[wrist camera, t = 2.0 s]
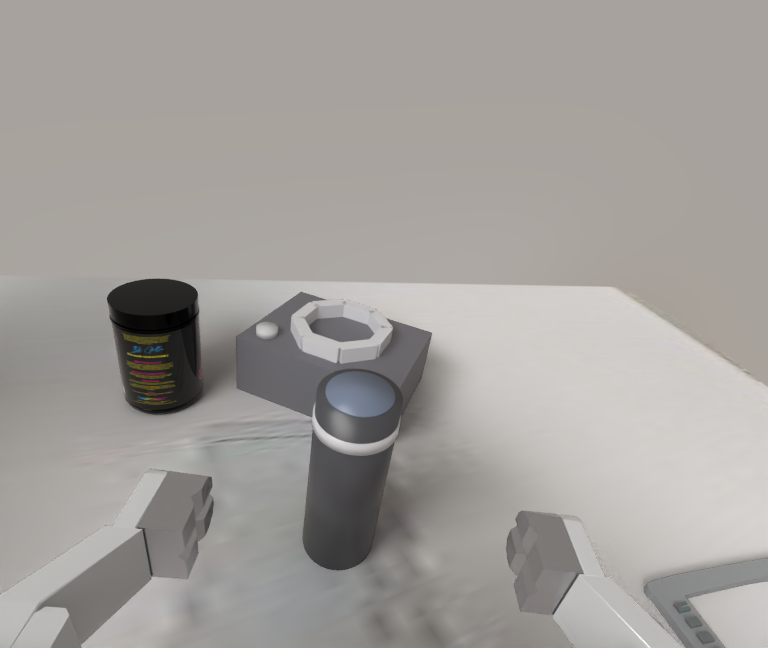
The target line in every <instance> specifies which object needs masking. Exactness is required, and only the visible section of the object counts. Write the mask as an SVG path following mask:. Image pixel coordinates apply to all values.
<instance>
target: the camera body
mask: <svg viewBox="0 0 768 648" xmlns="http://www.w3.org/2000/svg"><path fill="white" fill-rule="evenodd" d="M431 336H432V333H431V332H428V331H424V330H421V329H418V328H415V327H412V326H409V325H405V324H402V323H399V322H396V321H393V320H389V319H386V318H385V317H384V316H383V315H382V313H381V312H380V311H379V310H376V309H375V308H372V307H369V306H366V305H363V304H359V303H356V302H353V301H350V300H346V301H344V300H343V299H338V300H325V299H322V298H319V297H316V296H313V295H310V294H306V293H303V292H300V293H299V294H297V295H296V296H295V297H293V298H292V299H290V300H289V301H287V302H286V303H284V304H283V305H282V306H280V307H279V308H277V309H276V310H274V311H273V312H272V313H270V314H269V315H267V316H266V317H264V318H263V319H261V320H260V321H259V322H257V323H256V324H254V325H253V326H251V327H250V328H249V329H247V330H246V331H244V332H243V333H241V334H240V335H238V336H237V337H236V360H237V388H238V389H241V390H243V391H246V392H248V393H251V394H254V395H256V396H259V397H261V398H264V399H266V400H269V401H272V402H274V403H277V404H279V405H282V406H285V407H287V408H290V409H292V410H295V411H297V412H300V413H303V414H305V415H308V416H310V417H312V416H313V408H314V404H315V402H316V392H317V387H318V385H319V383H320V382H321V380H322V379H323V378H324V377H326V376H327V375H329V374H331V373H333V372H335V371H339V370H343V369H365V370H370V371H374V372H377V373H379V374H382V375H384V376H386V377H387V378H389V379H390V380H392V381H393V382H394V383H395V384H396V385H397V386H398V387H399V389H400V391H401V393H402V395H403V405H402V410H401V416H402V414H403V412H404V410H405V408H406V406H407V404H408V402H409V400H410V398H411V397H412V395H413V393H414V391H415V389H416V387H417V385H418V383H419V381H420V380H421V378H422V373H423V369H424V365H425V361H426V357H427V352H428V348H429V344H430V340H431Z"/></svg>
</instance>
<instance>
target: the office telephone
mask: <svg viewBox="0 0 768 648" xmlns="http://www.w3.org/2000/svg"><path fill="white" fill-rule="evenodd" d="M759 582H768V558H764V559H758V560H752V561H747V562H741V563H735V564H729V565H724V566H719V567H713V568H708V569H703V570H697V571H692V572H687V573H682V574H676V575H672V576H668V577H665V578H661V579H657V580H654V581H651V582H649V583H647V585H646V586H645V587H644V593H645V595H646V596H647V597H648V598H649V599H650V600H651V601H652V602H653V604H654V605H655V606H656V607H657V609H658V610H659V611H660V613H661V614H662V615H663V617H664V618H665V619H666V621H667V622H668V624H669V625H670V626H671V628H672V629H673V631H674V632H675V633H676V635H677V636H678V637H679V639H680V640H681V642H682V643H683V644H684V646H685V647H686V648H725V647H724V645H723V644H722V643H721V641H720V640H719V639H718V638H717V636H716V635H715V634H714V633H713V631H712V630H711V629H710V627H709V626H708V625H707V623H706V622H705V621H704V620H703V618H702V617H701V616H700V614H699V613H698V612H697V611H696V609H695V608H694V607H693V605H692V604H691V603H690V602H689V600H688V598H692V597H696V596H699V595H703V594H707V593H712V592H716V591H721V590H725V589H730V588H734V587H739V586H743V585H748V584H753V583H759ZM655 621H656V620H655ZM656 622H657V621H656ZM657 623H658V624H659V625H660V626H661V627H662V625H661V624H660V623H659V622H657ZM662 628H663V627H662ZM663 629H664V628H663ZM664 630H665V629H664ZM665 631H666V630H665Z"/></svg>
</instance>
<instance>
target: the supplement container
mask: <svg viewBox="0 0 768 648" xmlns="http://www.w3.org/2000/svg"><path fill="white" fill-rule="evenodd" d="M107 301H108V307H109V313H110V320H111V322H112V327H113V333H114V339H115V344H116V350H117V356H118V361H119V367H120V373H121V378H122V384H123V390H124V395H125V399H126V401H127V402H128V403H129V404H130V406H132V407H133V408H134V409H136V410H138V411H141V412H144V413H148V414H167V413H172V412H176V411H179V410H181V409H183V408H185V407H187V406H189V405H190V404H191V403H193V402H194V401H195V400H196V399H197V398H198V397H199V395H200V393H201V391H202V389H203V374H202V359H201V343H200V327H199V305H198V293H197V291H196V289H195V288H194V287H192V286H191V285H189V284H187V283H184V282H181V281H176V280H170V279H145V280H138V281H134V282H130V283H126V284H124V285H121V286H119V287H117V288H115V289H114V290H113V291H111V292H110V294H109V295H108V297H107Z"/></svg>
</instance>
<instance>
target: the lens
mask: <svg viewBox="0 0 768 648" xmlns="http://www.w3.org/2000/svg"><path fill="white" fill-rule="evenodd" d="M402 405H403V395H402V393H401V391H400V389H399V387H398V386H397V385H396V384H395V383H394V382H393V381H392V380H390V379H389V378H387V377H386V376H384V375H382V374H379V373H377V372H374V371H370V370H365V369H343V370H339V371H335V372H333V373H331V374H329V375H327V376H326V377H324V378H323V379H322V380H321V382H320V383H319V385H318V387H317V392H316V402H315V404H314V408H313V416H312V427H313V434H312V445H311V455H310V466H309V476H308V486H307V497H306V507H305V518H304V528H303V544H304V548H305V550H306V552H307V554H308V555H309V557H310V558H311V559H312V560H313V561H314V562H315V563H317V564H318V565H320V566H322V567H324V568H327V569H331V570H345V569H349V568H352V567H354V566H356V565H358V564H359V563H360V562H362V561H363V560H364V559H365V558H366V556H367V555H368V553H369V551H370V549H371V546H372V541H373V537H374V532H375V528H376V523H377V519H378V514H379V510H380V505H381V500H382V496H383V491H384V487H385V482H386V478H387V473H388V469H389V464H390V460H391V455H392V451H393V446H394V442H395V440H396V438H397V435H398V431H399V427H400V422H401V410H402Z"/></svg>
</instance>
